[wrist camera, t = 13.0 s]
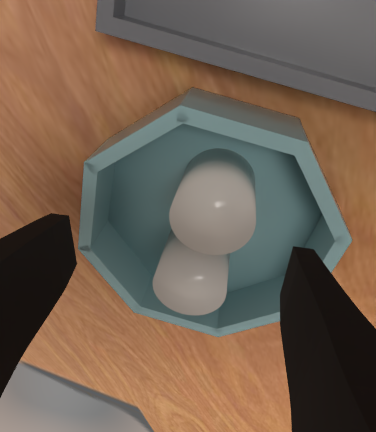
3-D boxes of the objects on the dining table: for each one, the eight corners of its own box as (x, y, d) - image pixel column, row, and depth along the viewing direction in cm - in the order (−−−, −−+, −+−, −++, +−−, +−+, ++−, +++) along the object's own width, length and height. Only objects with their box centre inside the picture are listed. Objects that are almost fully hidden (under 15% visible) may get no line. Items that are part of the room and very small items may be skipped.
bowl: (374, 139, 17) (399, 168, 14) (275, 312, 25) (277, 354, 22) (117, 65, 17) (89, 78, 14) (95, 260, 25) (74, 295, 22)
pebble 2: (227, 216, 20) (222, 259, 17) (233, 268, 22) (229, 316, 19) (162, 219, 21) (145, 260, 18) (173, 269, 23) (160, 314, 20)
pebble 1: (259, 150, 18) (260, 185, 14) (251, 215, 20) (251, 258, 17) (183, 146, 18) (167, 178, 15) (183, 210, 20) (170, 251, 17)
